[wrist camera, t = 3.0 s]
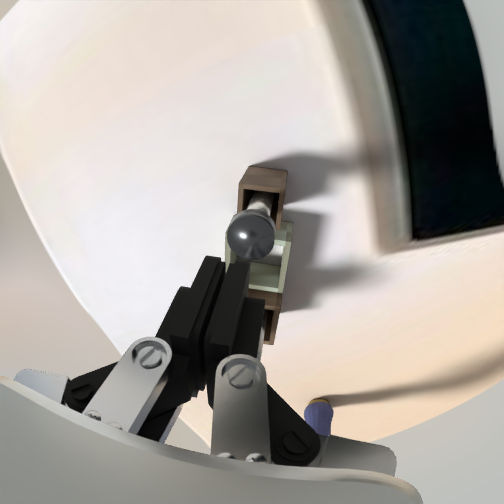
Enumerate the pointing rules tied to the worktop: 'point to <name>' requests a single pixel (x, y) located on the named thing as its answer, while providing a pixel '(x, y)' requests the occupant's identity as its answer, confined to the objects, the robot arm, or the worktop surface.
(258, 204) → the round dark gray knob
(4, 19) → the worktop surface
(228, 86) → the worktop surface
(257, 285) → the compartment holder
